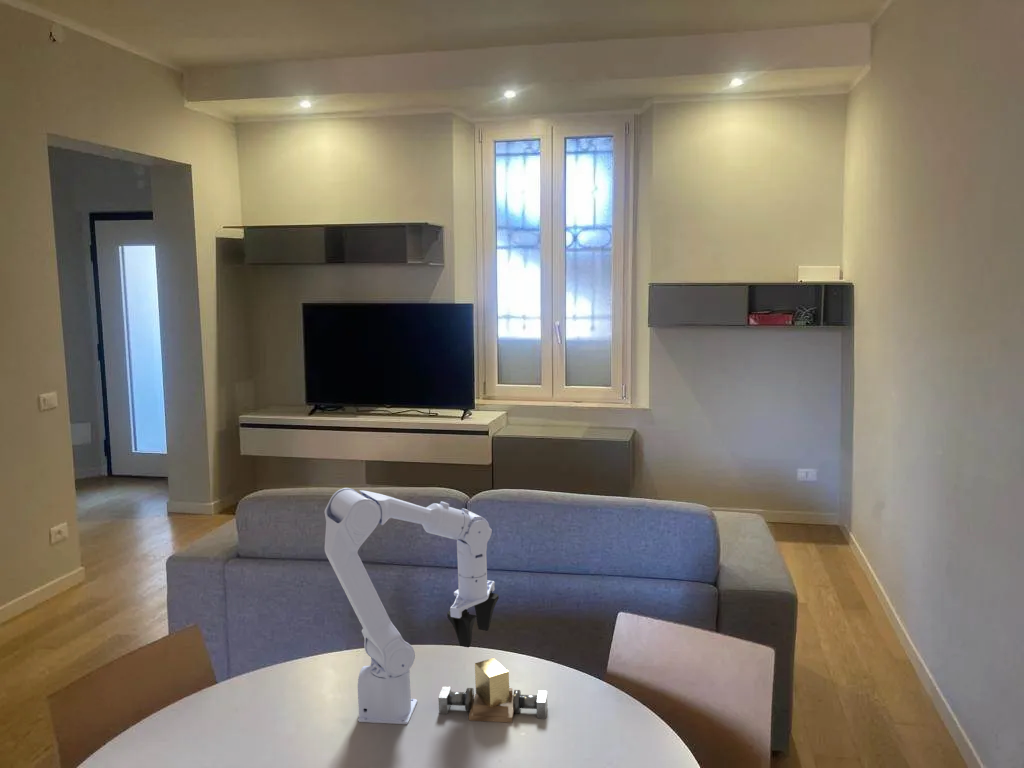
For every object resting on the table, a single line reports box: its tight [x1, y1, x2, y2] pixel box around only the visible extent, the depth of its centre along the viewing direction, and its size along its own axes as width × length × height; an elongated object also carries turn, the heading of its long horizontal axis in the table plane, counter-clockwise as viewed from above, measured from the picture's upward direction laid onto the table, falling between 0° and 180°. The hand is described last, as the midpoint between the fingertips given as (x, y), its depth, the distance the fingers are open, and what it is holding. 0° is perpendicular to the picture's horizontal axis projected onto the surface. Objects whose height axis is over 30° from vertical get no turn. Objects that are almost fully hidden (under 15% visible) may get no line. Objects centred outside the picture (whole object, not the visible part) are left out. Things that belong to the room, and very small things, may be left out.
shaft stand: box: [438, 686, 548, 724], centre depth 150 cm, size 20×8×4 cm, turn 83°
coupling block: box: [474, 657, 510, 708], centre depth 150 cm, size 6×4×6 cm, turn 29°
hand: (474, 637), depth 160 cm, fingers open, 7 cm apart
